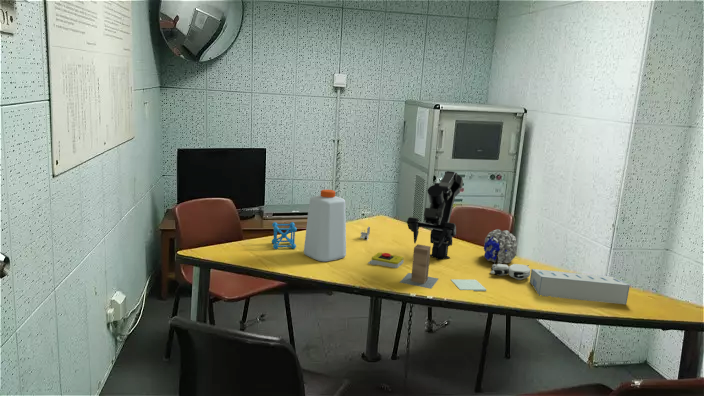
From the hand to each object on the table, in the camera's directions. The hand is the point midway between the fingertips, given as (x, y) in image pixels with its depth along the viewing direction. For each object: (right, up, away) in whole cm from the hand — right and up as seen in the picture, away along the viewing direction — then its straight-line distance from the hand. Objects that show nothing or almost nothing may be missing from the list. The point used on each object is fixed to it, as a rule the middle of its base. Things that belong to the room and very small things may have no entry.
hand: (426, 244), depth 188 cm
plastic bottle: (-40, -7, +20) cm, 45 cm away
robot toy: (+35, -14, +9) cm, 39 cm away
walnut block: (-3, -13, -3) cm, 14 cm away
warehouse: (+55, -18, -5) cm, 58 cm away
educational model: (+36, -10, +29) cm, 47 cm away
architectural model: (-26, -3, +46) cm, 53 cm away
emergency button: (-13, -10, +15) cm, 23 cm away
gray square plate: (-3, -13, -3) cm, 14 cm away
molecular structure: (-59, -4, +30) cm, 66 cm away
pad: (+15, -15, -5) cm, 21 cm away
